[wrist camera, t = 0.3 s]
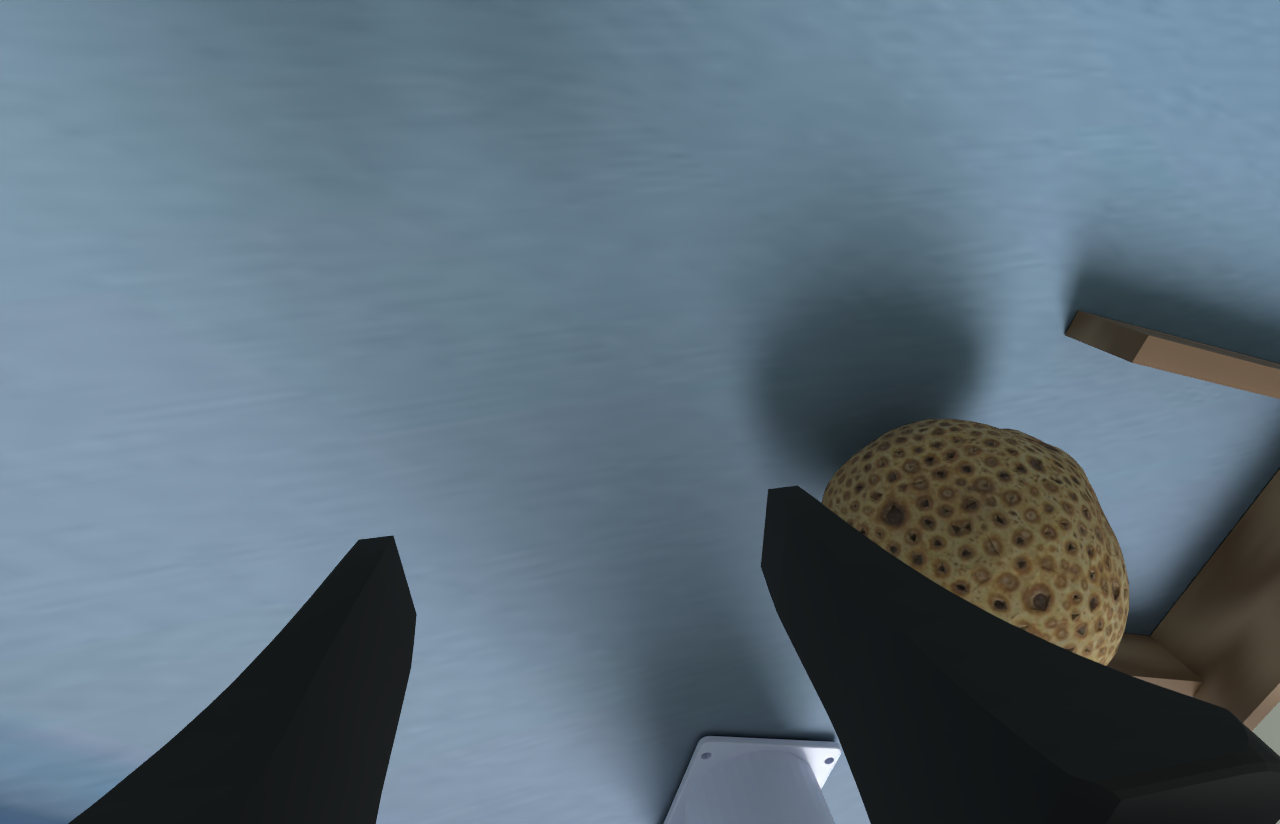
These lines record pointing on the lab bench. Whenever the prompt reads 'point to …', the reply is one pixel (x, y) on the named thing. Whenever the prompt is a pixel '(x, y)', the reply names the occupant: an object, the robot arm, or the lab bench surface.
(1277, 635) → the wooden u-shaped fence
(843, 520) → the robot arm
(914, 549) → the natural sponge
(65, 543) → the lab bench surface
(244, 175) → the lab bench surface
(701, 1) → the lab bench surface
